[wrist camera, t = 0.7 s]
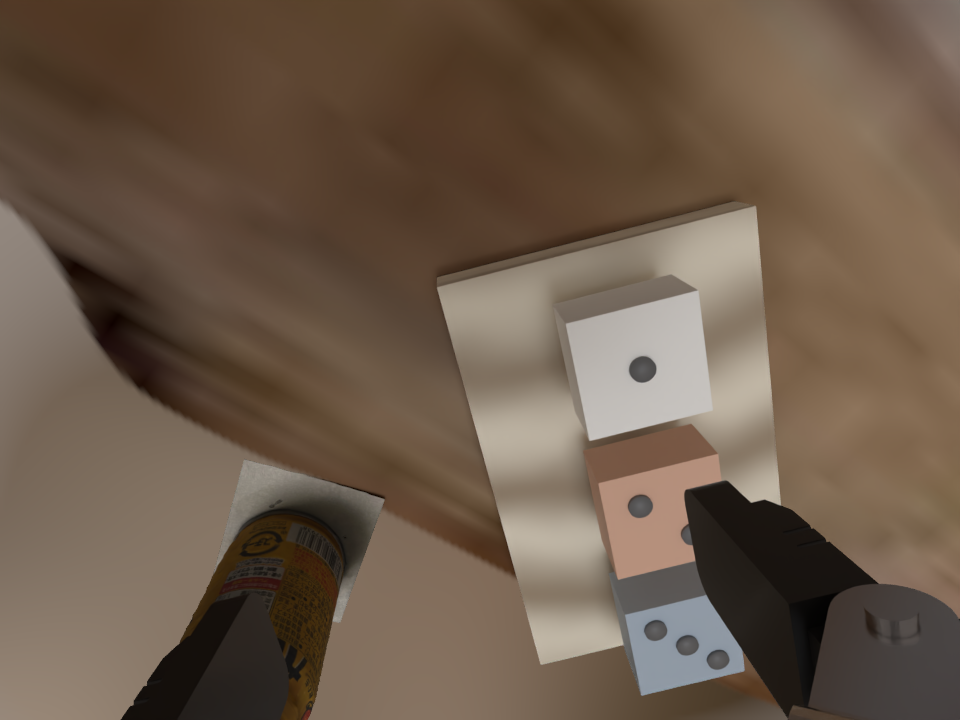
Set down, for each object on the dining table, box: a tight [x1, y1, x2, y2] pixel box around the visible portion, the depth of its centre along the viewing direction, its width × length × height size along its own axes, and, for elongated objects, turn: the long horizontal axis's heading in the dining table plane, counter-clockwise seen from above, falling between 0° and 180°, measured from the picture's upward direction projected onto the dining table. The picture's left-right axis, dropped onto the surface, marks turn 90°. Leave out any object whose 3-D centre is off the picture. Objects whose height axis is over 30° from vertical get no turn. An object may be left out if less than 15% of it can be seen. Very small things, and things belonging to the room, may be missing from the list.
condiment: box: [180, 459, 385, 720], centre depth 27 cm, size 7×8×12 cm
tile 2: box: [583, 424, 722, 580], centre depth 27 cm, size 5×5×3 cm
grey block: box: [609, 561, 745, 695], centre depth 30 cm, size 5×5×3 cm
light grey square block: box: [552, 274, 713, 441], centre depth 25 cm, size 5×5×3 cm
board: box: [437, 201, 781, 665], centre depth 30 cm, size 22×14×4 cm, turn 14°
